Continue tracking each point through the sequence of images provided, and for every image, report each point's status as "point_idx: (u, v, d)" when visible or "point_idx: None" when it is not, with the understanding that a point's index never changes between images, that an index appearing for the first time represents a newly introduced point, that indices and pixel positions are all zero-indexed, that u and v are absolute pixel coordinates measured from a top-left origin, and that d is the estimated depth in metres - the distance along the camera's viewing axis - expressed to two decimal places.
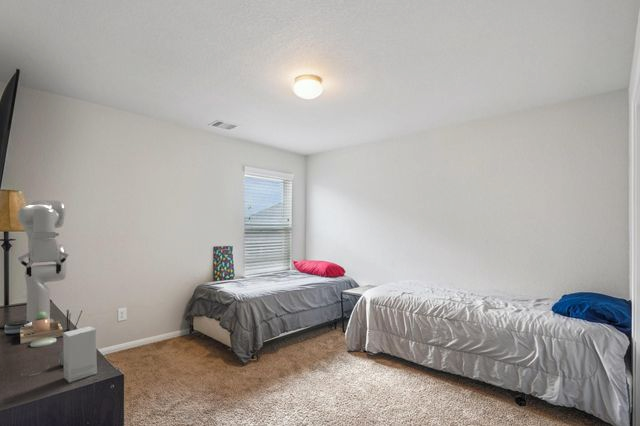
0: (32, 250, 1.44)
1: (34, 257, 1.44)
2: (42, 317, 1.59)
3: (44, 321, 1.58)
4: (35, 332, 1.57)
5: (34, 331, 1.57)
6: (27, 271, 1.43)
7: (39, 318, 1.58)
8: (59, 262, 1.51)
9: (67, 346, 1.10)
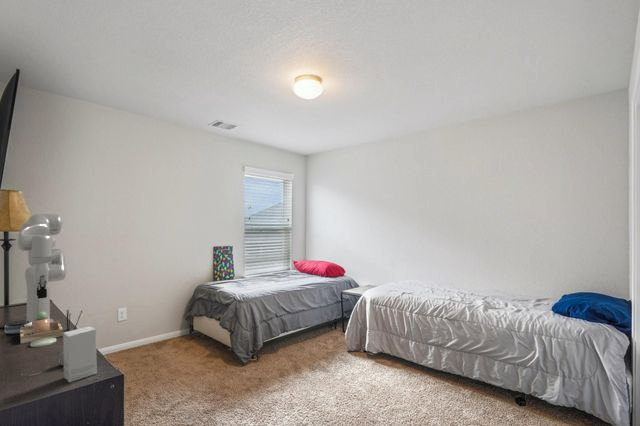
0: (47, 273, 1.58)
1: (48, 279, 1.59)
2: (42, 317, 1.59)
3: (44, 321, 1.58)
4: (35, 332, 1.57)
5: (34, 331, 1.57)
6: (44, 293, 1.56)
7: (39, 318, 1.58)
8: None
9: (67, 346, 1.10)
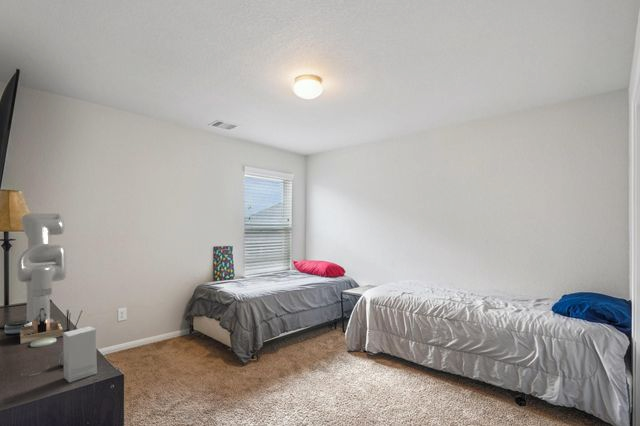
0: (47, 305, 1.58)
1: (47, 312, 1.59)
2: None
3: None
4: (35, 332, 1.57)
5: (34, 331, 1.57)
6: (44, 327, 1.57)
7: None
8: None
9: (67, 346, 1.10)
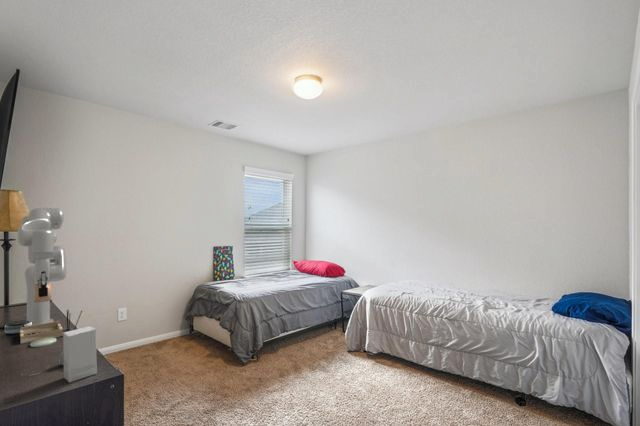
0: (49, 269, 1.53)
1: (49, 276, 1.53)
2: None
3: None
4: (36, 296, 1.51)
5: (35, 295, 1.51)
6: (45, 291, 1.52)
7: None
8: None
9: (67, 346, 1.10)
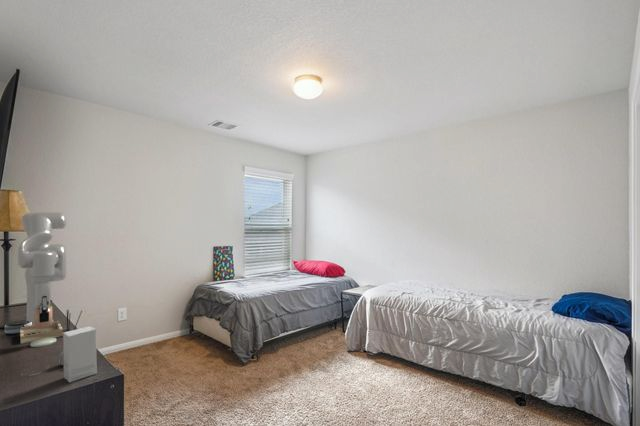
0: (50, 293, 1.47)
1: (50, 300, 1.48)
2: None
3: None
4: (37, 321, 1.46)
5: (36, 320, 1.46)
6: (46, 316, 1.46)
7: None
8: None
9: (67, 346, 1.10)
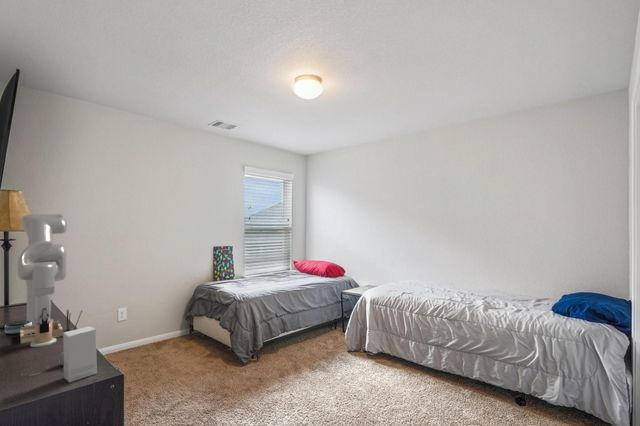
0: (50, 305, 1.47)
1: None
2: None
3: None
4: (37, 337, 1.46)
5: (36, 336, 1.46)
6: (46, 327, 1.45)
7: None
8: None
9: (67, 346, 1.10)
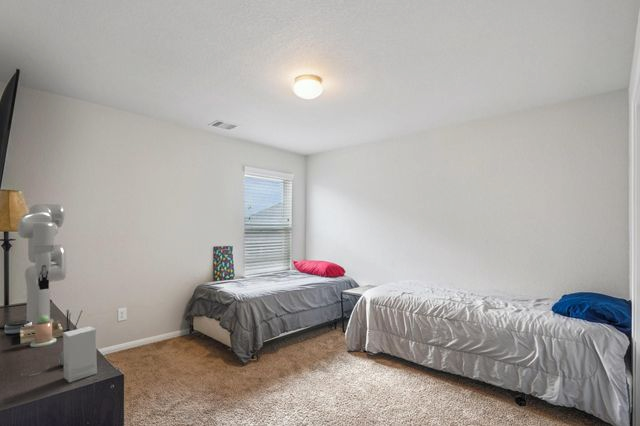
0: (50, 263, 1.49)
1: (50, 270, 1.50)
2: (44, 321, 1.48)
3: (46, 325, 1.47)
4: (36, 337, 1.46)
5: (35, 336, 1.46)
6: (46, 284, 1.47)
7: (41, 322, 1.47)
8: None
9: (67, 346, 1.10)
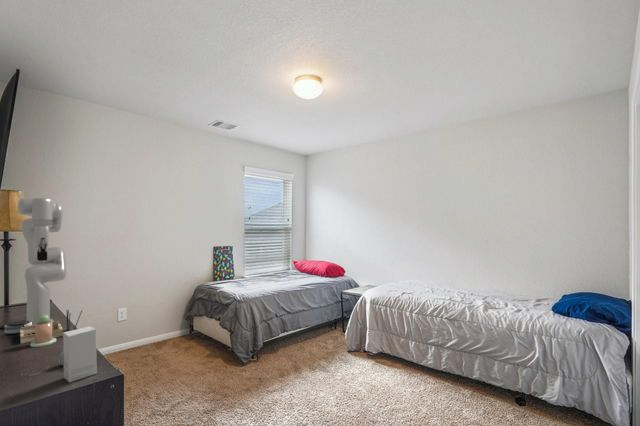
0: (48, 236, 1.57)
1: (48, 242, 1.58)
2: (44, 321, 1.48)
3: (46, 325, 1.47)
4: (37, 337, 1.46)
5: (36, 336, 1.46)
6: (45, 255, 1.55)
7: (41, 322, 1.47)
8: None
9: (67, 346, 1.10)
